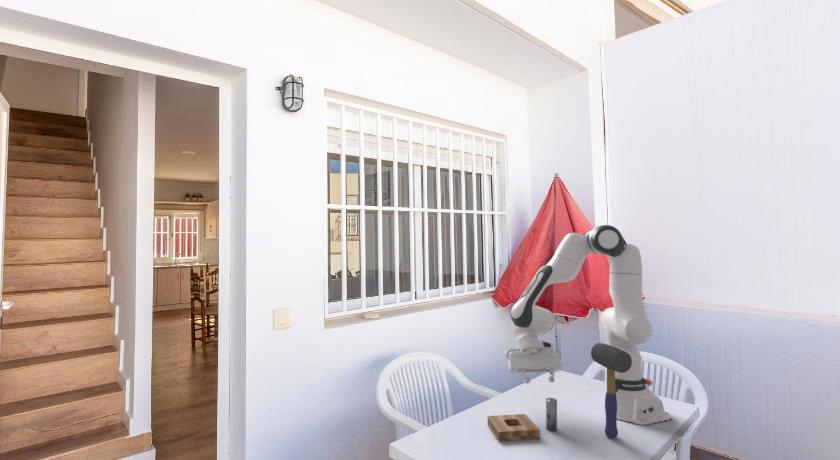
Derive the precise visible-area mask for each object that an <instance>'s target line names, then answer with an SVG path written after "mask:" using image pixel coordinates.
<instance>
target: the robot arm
mask: <svg viewBox="0 0 840 460" xmlns="http://www.w3.org/2000/svg"><path fill="white" fill-rule="evenodd" d="M592 253H593V254H598V255H605V256H606V257H607V258H608V261H609V283H608V289H609V290H608V293H609V297H611V300H612V305H613V306H612V307H608V308H606V309H604V310H603V311H602V313H601V315H600V322H601V325H602V327H603V330H604V335H605V342H606V344H607V345H611V346H614V347H616V348H618V349H621V350H623V351H625V352H627V353H628V354H629V355H630V356H631V359H632V365H631V367H630V369H629V370H628V371H627V372H624V373H620V372H617V371H615V393H616V397H617V420H620V421H624V422H630V423H633V424H636V425H639V426H644V425H651V424H655V422H656V423H661V422H660V421H662V422H665V421H664V420H667V421H669V420H668V419H671V418H672V415H671V414H670V412H668V411H666V410H665V407H664V404H663V400H662V399H661V398H660V397H659V396H657V394H655V393H654V392H652V391H651V390H650V389H649V388H647V386H648V387H651V386H652V385H653V381H652V380H650V379H648V378H646V379H645V377H643V375H642V373H643V372H642V371H643V366H642V361H643V360H642V355H641V353H640V351H639V348H638V345H639V344H641V345H642V344H644V343H646V342H648V341H649V339H651V337H652V336H653V335H652V334H653V328H652V324H651V322H650V321H649V319H648V316H647V314H646V313H647V312H646V309H645V308H646V307H645V304H644V297H643V263H642V257H641V252H640V249H639V248H638V247H637V246H636V245H633V244H632V243H631V244H630V243H627V242H626V240H625V238H624V237H623V235H622V233H621V231H620V230H619V229H618V228H616V227H615V226H613V225H609V224H602V225H597V226H595V227H593V228H590V230H588V231H586V232H585V233H583V234H581V233H578V232H569V233H568V234H566V235H565V236H564V238H562V241H561V242H560V243H559V245H558V247H557V248H556V249H555V251H554V254H553V256H552V257H551V259H550V260H549V262H548V263H546V264H545V265H543V266H541V267H540V268H539V269H538V270H537V272H536V273H535V275H534V276H533V277H532V279H531V280H530V282H529V284H528V285H527V286H526V288H525V290H524V291H523V292H522V294H521V295H520V297H519V298H518V300H517V301H515V303H514V304H513V305H512V307H511V309H510V312H509V315H510V318H511V319H510V320H511V321H510V323H511V329H512V332H513V336H514V337H515V339H516V340H515V341H516V342H515V343H516V347H517V348H509V349H507V350H506V351H504V352H505V354H504V355H505V357H506V359H507V366H508V367H507V368H508V371H509V372H510V373H511V374H519V376H520V378H522V379H523V380H524V384H530V383H531V379H530V376H527V375H526V374H527V373H548V374H549V375H550V376H548V382H549V383H554V382H555V377H554V376H555V372H559V371H560V370H562V367H563V363H562V361H561V358H560V356H559V354H558V352H557V351H556V350H555V349H554V348H555V347H554V344H553V343H552V342H549V341H544V340H541V339H539V336H543V335H545V334H547V333H549V332H550V331H551V330H552V329H553V328H554V325H555V316H554V314H553V312H552V311H551V310H550V309H547V308H544V307H541V306H538V305H536V303H537V301H538V300H539V298H540V297H541V295H542V294H543V292H544V291H545V289H546V288H547V287H548V286H550V285H553V284H559V283H568V282H570V281H573V280H574V279H576V277H577V276H578V274H579V273H580V271H581V269H582V267H583V264H584V263H585V260H586V258H588V256H589V255H590V254H592ZM637 344H638V345H637Z"/></svg>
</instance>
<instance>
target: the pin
mask: <svg viewBox="0 0 840 460" xmlns="http://www.w3.org/2000/svg"><path fill="white" fill-rule="evenodd" d="M545 418H546V419H545V424H546V425H545V427H546V428H545V429H546V430H547V431H549V432H557V431H558V400H557V398H554V397H547V398H545Z"/></svg>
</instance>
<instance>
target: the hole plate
mask: <svg viewBox="0 0 840 460" xmlns="http://www.w3.org/2000/svg"><path fill="white" fill-rule="evenodd" d="M487 426H488V428H489V429H490V431H491V432H492V433H493V435H494V437H495V439H497V441H498V442H505V441H506V442H508V441H522V440H523V441H525V440H538V439H539V440H540V438H541V437H540V436H541V435H540V434H541V433H540V432H541V429H540V428H539V426H537V425H536V424H535V423H534V421H533V420H532V419H531V418H530V417H529V416H528V415H527V414H526V413H519V414H503V415H502V414H501V415H500V414H499V415H487Z"/></svg>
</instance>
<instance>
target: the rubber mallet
mask: <svg viewBox="0 0 840 460" xmlns="http://www.w3.org/2000/svg"><path fill="white" fill-rule="evenodd" d="M590 357H591V359H592V361H594V363H596V364H598V365H600V366H602V367H604V368H606V392H605V397H604V412H605V427H604V433H605V435H606V437H607V438H609V439H616V438H617V436H618V434H619V431H618V424H617V420H618V419H617V397H616V393H615V371H617V372H620V373H624V372H627V371H628V370H629V369H630V367H631V365H632V359H631V356H630V355H629V354H628V353H627V352H625V351H623V350H621V349H618V348H616V347H614V346H611V345H607V343H603V342H598V343H596V344H594V345H593V346H592V347H591V350H590Z"/></svg>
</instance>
